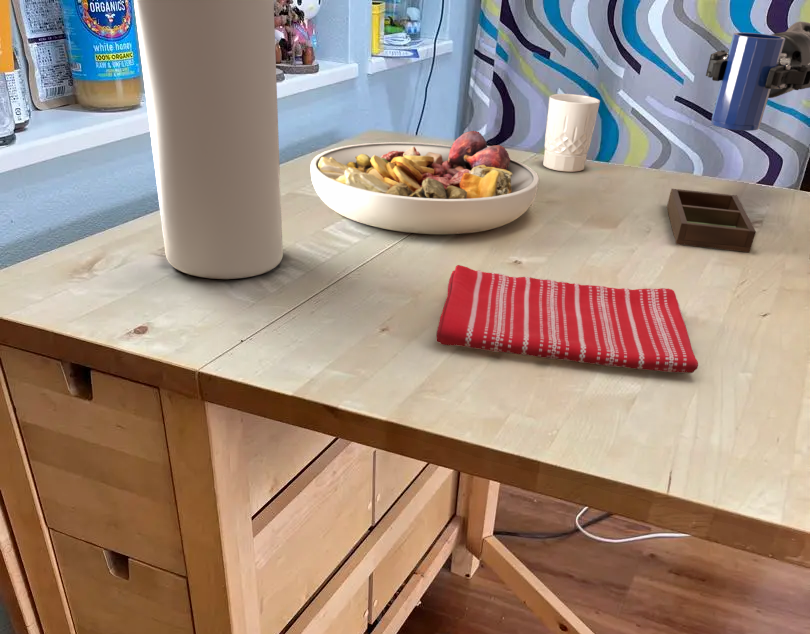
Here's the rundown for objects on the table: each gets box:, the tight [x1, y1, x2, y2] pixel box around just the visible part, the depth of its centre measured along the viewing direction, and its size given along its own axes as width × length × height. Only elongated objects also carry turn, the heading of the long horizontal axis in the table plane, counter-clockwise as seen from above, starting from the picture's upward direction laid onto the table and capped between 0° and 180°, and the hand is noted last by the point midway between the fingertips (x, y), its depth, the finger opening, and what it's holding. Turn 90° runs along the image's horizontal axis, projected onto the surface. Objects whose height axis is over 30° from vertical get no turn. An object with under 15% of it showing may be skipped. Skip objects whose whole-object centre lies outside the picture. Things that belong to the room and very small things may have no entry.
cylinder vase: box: [133, 0, 284, 280], centre depth 81 cm, size 12×12×25 cm
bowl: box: [310, 130, 540, 235], centre depth 107 cm, size 30×30×8 cm
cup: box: [710, 32, 785, 132], centre depth 102 cm, size 6×6×10 cm
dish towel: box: [436, 264, 699, 374], centre depth 78 cm, size 17×24×3 cm
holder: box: [666, 188, 757, 253], centre depth 108 cm, size 9×17×3 cm, turn 169°
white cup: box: [542, 93, 601, 173], centre depth 129 cm, size 8×8×10 cm
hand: (743, 74), depth 100 cm, fingers closed on cup, 6 cm apart
